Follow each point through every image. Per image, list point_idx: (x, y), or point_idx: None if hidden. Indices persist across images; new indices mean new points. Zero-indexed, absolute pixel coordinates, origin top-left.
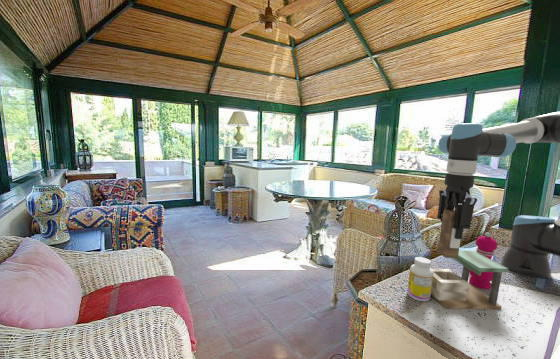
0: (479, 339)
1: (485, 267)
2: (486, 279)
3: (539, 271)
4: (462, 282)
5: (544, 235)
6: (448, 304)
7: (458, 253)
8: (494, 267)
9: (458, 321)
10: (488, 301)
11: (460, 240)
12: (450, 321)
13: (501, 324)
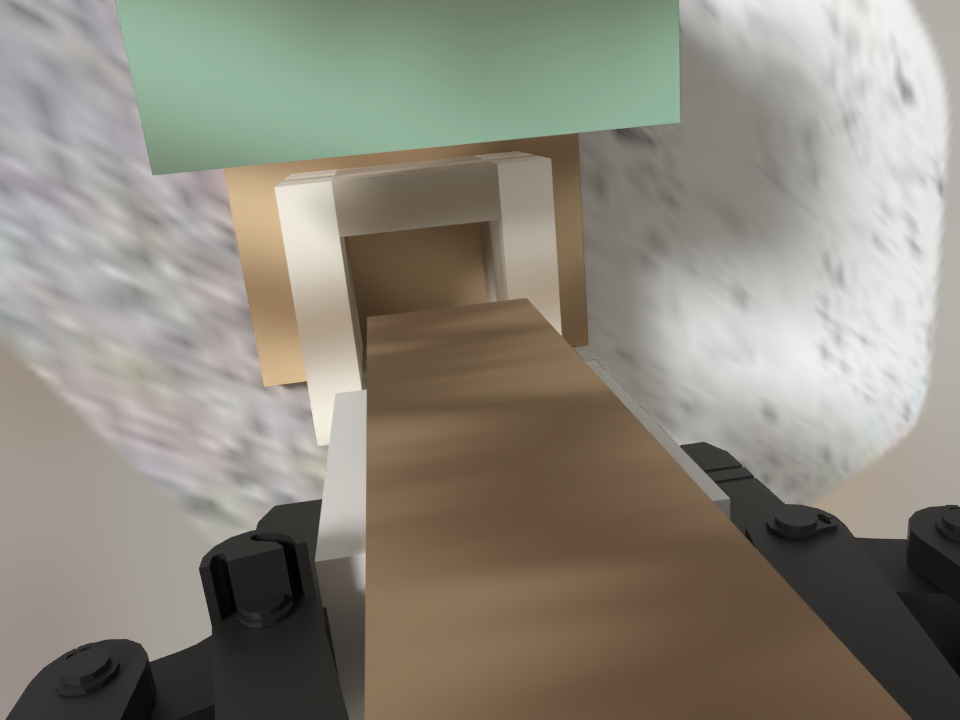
0: (842, 298)
1: (664, 37)
2: None
3: None
4: (544, 214)
5: None
6: (579, 320)
7: (539, 312)
8: None
9: (705, 327)
10: None
11: (590, 369)
12: (706, 376)
13: (727, 48)
